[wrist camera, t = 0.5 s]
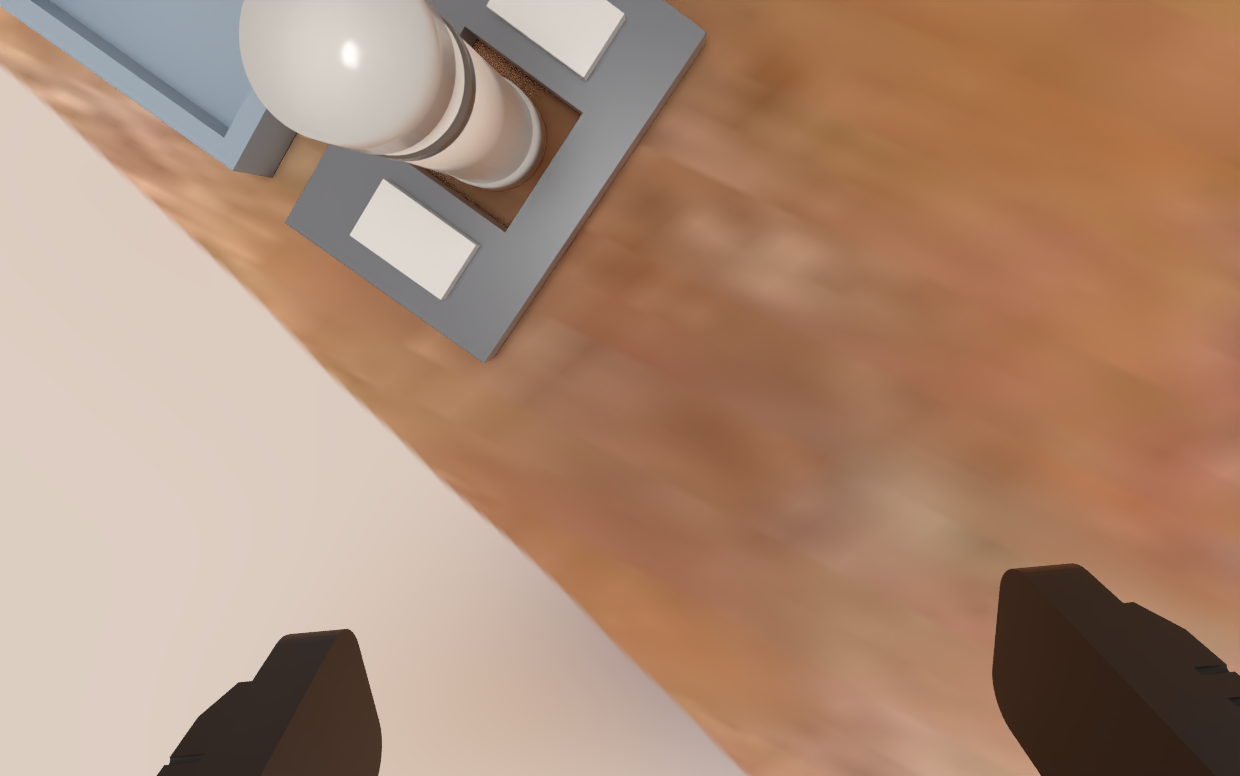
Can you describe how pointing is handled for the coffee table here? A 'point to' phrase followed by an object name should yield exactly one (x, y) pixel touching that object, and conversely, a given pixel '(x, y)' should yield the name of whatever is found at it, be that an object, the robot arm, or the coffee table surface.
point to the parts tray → (171, 68)
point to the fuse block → (559, 203)
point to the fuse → (390, 87)
